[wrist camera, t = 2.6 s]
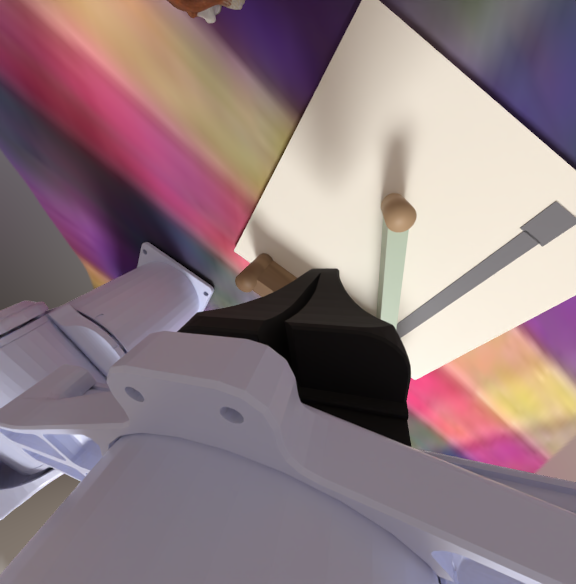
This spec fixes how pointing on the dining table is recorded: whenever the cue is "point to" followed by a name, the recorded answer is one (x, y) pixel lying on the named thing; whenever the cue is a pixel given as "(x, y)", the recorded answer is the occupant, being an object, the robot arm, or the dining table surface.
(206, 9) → the bull figurine
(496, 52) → the dining table surface
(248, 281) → the fixed fence section
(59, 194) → the dining table surface
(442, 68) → the board
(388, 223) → the hinged fence panel
